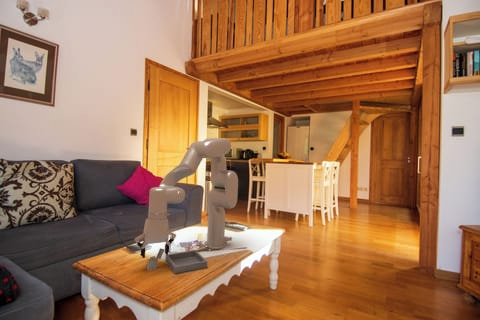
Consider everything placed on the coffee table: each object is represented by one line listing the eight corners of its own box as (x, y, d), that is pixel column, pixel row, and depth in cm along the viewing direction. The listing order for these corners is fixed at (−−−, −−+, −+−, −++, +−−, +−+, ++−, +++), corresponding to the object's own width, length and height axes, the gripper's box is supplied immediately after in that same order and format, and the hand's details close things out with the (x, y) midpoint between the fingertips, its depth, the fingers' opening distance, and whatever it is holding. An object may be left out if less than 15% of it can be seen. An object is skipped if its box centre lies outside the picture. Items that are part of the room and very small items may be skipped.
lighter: (148, 271, 105) (149, 252, 105) (146, 269, 107) (147, 251, 107) (163, 266, 111) (164, 248, 111) (161, 265, 112) (162, 247, 112)
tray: (195, 256, 124) (195, 250, 124) (207, 267, 111) (207, 261, 111) (165, 261, 116) (165, 254, 116) (174, 274, 104) (174, 267, 104)
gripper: (174, 213, 116) (172, 250, 116) (134, 215, 107) (132, 255, 107) (179, 216, 110) (177, 255, 109) (137, 219, 101) (135, 262, 101)
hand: (155, 255), depth 108 cm, fingers open, 9 cm apart
